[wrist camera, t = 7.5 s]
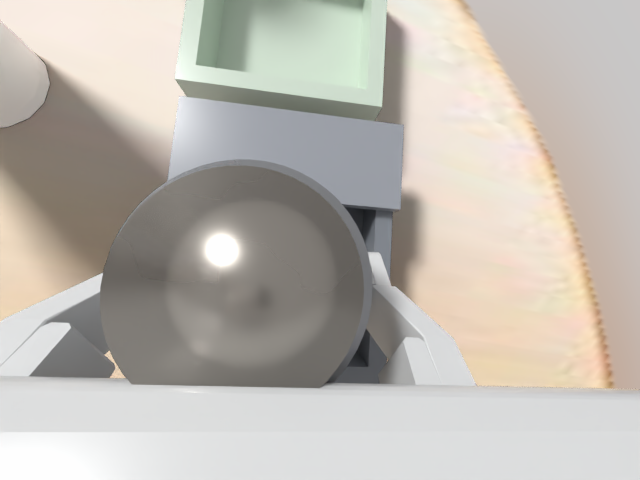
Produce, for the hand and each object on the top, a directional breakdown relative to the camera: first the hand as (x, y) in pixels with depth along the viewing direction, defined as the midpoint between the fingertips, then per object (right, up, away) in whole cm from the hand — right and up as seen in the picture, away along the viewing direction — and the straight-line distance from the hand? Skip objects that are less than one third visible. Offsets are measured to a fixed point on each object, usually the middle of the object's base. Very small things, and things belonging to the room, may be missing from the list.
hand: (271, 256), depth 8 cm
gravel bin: (0, 0, +7) cm, 7 cm away
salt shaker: (-1, -1, +5) cm, 5 cm away
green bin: (0, +15, +9) cm, 17 cm away
